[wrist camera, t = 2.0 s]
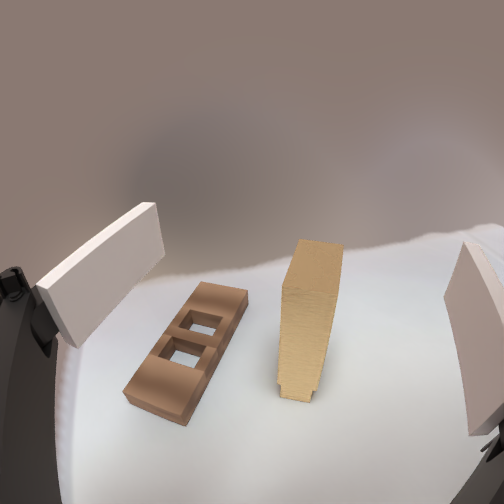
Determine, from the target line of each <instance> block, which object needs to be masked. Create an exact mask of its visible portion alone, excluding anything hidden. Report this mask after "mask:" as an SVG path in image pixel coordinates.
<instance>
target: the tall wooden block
mask: <svg viewBox="0 0 504 504" xmlns="http://www.w3.org/2000/svg"><path fill="white" fill-rule="evenodd" d="M343 246H344V245H340V244H333V243H326V242H319V241H311V240H304V239H299V242H298V244H297V247H296V250H295V252H294V255H293V258H292V261H291V263H290V266H289V269H288V271H287V274H286V277H285V279H284V282H283V285H282V297H281V320H280V341H279V360H278V377H277V384H280V385H281V391H280V397H282V398H287V399H292V400H297V401H303V402H308V403H310V399H311V395H312V391H317V388H318V384H319V380H320V376H321V372H322V368H323V364H324V360H325V355H326V351H327V347H328V342H329V338H330V333H331V328H332V323H333V318H334V313H335V308H336V303H337V298H338V291H339V283H340V275H341V266H342V257H343Z"/></svg>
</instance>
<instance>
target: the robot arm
mask: <svg viewBox="0 0 504 504" xmlns="http://www.w3.org/2000/svg"><path fill="white" fill-rule="evenodd" d="M164 256H165V251H164V246H163V241H162V235H161V230H160V224H159V219H158V213H157V207H156V203H148V202H142V203H141V204H139V205H138V206H136V207H135V208H133V209H132V210H130V211H129V212H128V213H126V214H125V215H123V216H122V217H120V218H119V219H118V220H116V221H115V222H113V223H112V224H111V225H109V226H108V227H107V228H105V229H104V230H102V231H101V232H100V233H98V234H97V235H96V236H94V237H93V238H92V239H90V240H89V241H88V242H87V243H85V244H84V245H83V246H81V247H80V248H79V249H78V250H76V251H75V252H74V253H73V254H71V255H70V256H69V257H68V258H66V259H65V260H64V261H62V262H61V263H60V264H59V265H58V266H56V267H55V268H54V269H53V270H51V271H50V272H49V273H48V274H47V275H46V276H44V277H43V278H42V279H41V280H40V281H39V282H37V283H36V285H35V286H34V287H33V288H31V289H30V287H29V285H28V282H27V280H26V278H25V276H24V274H23V271H22V269H21V268H20V267H11V268H9V269H6V270H5V271H4V272H2V273H1V274H0V504H62V501H61V495H60V488H59V480H58V472H57V461H56V447H55V419H54V406H55V375H56V360H57V350H58V340H57V338H56V336H55V335H56V334H57V333H58V332H60V333H61V335H62V337H63V339H64V340H65V342H66V343H68V344H69V345H71V346H73V347H75V348H77V349H79V348H80V347H81V345H82V344H83V343H84V342H85V341H86V340H87V338H88V337H89V336H90V335H91V334H92V333H93V332H94V331H95V329H96V328H97V327H98V326H99V325H100V324H101V323H102V322H103V320H104V319H105V318H106V317H107V316H108V315H109V314H110V313H111V312H112V310H113V309H114V308H115V307H116V306H117V305H118V304H119V303H120V302H121V301H122V300H123V299H124V297H125V296H126V295H127V294H128V293H129V292H130V291H131V290H132V289H133V288H134V287H135V286H136V285H137V284H138V283H139V282H140V280H141V279H142V278H143V277H144V276H145V275H146V274H147V273H148V272H149V271H150V270H151V269H152V268H153V267H154V266H155V265H156V264H157V263H158V262H159V261H160V260H161V259H162V258H163V257H164ZM444 300H445V304H446V308H447V311H448V315H449V319H450V323H451V327H452V331H453V335H454V340H455V344H456V349H457V354H458V359H459V364H460V369H461V375H462V381H463V388H464V395H465V402H466V411H467V420H468V432H469V436H478V435H488V434H489V433H490V432H491V431H492V430H493V429H494V428H496V427H497V426H498V425H499V432H500V434H498V435H497V436H496V437H495V438H494V439H493V440H491V441H490V442H489V443H488V444H486V445H485V446H484V447H483V448H482V449H481V450H480V451H481V452H483V451H485V450H486V449H487V448H488V450H487V452H486V453H485V455H484V457H483V458H482V460H481V461H480V463H479V464H478V466H477V467H476V469H475V470H474V472H473V473H472V475H471V476H470V478H469V479H468V481H467V482H466V483H465V485H464V486H463V487H462V489H461V490H460V491H459V493H458V494H457V495H456V497H455V498H454V499H453V500H452V502H451V503H450V504H504V288H503V286H502V284H501V282H500V281H499V279H498V277H497V275H496V273H495V271H494V269H493V268H492V266H491V264H490V262H489V261H488V259H487V257H486V256H485V254H484V252H483V251H482V249H481V247H480V246H479V244H474V243H468V242H463V245H462V248H461V251H460V254H459V257H458V260H457V263H456V266H455V269H454V272H453V274H452V277H451V280H450V282H449V285H448V287H447V290H446V292H445V295H444Z"/></svg>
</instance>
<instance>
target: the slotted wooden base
mask: <svg viewBox="0 0 504 504" xmlns="http://www.w3.org/2000/svg"><path fill="white" fill-rule="evenodd" d="M247 305H248V290H244V289H239V288H233V287H228V286H222V285H217V284H212V283H206V282H200V283H199V285H198V286H197V287H196V289H195V290H194V292H193V293H192V294H191V296H190V297H189V298H188V300H187V301H186V303H185V304H184V305H183V307H182V308H181V309H180V311H179V312H178V314H177V315H176V316H175V318H174V319H173V320H172V322H171V323H170V325H169V326H168V327H167V329H166V330H165V332H164V333H163V334H162V336H161V337H160V339H159V340H158V341H157V343H156V344H155V346H154V347H153V348H152V350H151V351H150V353H149V354H148V356H147V357H146V358H145V360H144V361H143V363H142V364H141V365H140V367H139V368H138V370H137V371H136V373H135V374H134V375H133V377H132V378H131V380H130V381H129V383H128V384H127V386H126V387H125V388H124V390H123V391H122V392H123V393H124V395H125V396H126V398H127V399H128V401H129V402H130V403H131V404H133V405H135V406H137V407H139V408H142V409H144V410H146V411H148V412H151V413H153V414H155V415H158V416H160V417H163V418H165V419H168V420H170V421H173V422H175V423H178V424H180V425H183V426H186V425H187V423H188V422H189V420H190V418H191V416H192V414H193V412H194V410H195V408H196V406H197V404H198V402H199V400H200V398H201V397H202V395H203V393H204V391H205V389H206V387H207V385H208V383H209V381H210V379H211V377H212V375H213V373H214V371H215V369H216V367H217V365H218V363H219V361H220V359H221V357H222V355H223V353H224V351H225V349H226V348H227V346H228V344H229V342H230V340H231V338H232V336H233V334H234V332H235V330H236V328H237V326H238V324H239V322H240V320H241V318H242V316H243V314H244V312H245V309H246V307H247ZM193 323H195V324H199V325H203V326H207V327H211V328H215V329H216V331H215V332H214V334H213V336H210V335H206V334H202V333H198V332H194V331H190V330H189V329H190V327H191V326H192V324H193ZM175 350H179V351H182V352H185V353H189V354H192V355H195V356H199V357H200V359H199V361H198V363H197V364H196V366H195V368H191V367H187V366H184V365H181V364H178V363H175V362H172V361H169V360H170V358H171V356H172V355H173V353H174V352H175Z"/></svg>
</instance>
